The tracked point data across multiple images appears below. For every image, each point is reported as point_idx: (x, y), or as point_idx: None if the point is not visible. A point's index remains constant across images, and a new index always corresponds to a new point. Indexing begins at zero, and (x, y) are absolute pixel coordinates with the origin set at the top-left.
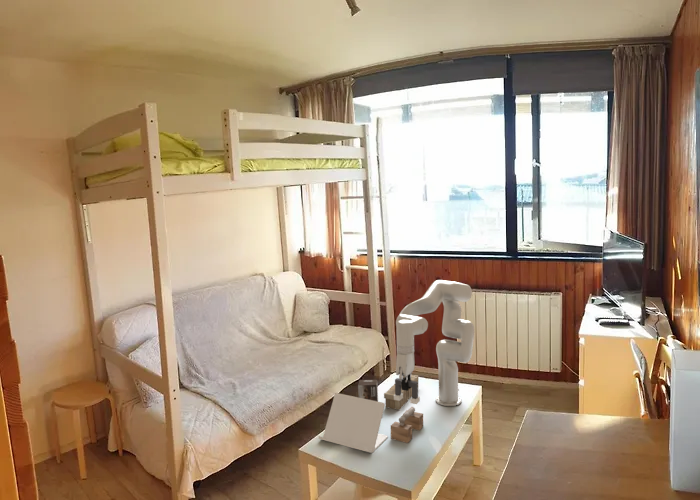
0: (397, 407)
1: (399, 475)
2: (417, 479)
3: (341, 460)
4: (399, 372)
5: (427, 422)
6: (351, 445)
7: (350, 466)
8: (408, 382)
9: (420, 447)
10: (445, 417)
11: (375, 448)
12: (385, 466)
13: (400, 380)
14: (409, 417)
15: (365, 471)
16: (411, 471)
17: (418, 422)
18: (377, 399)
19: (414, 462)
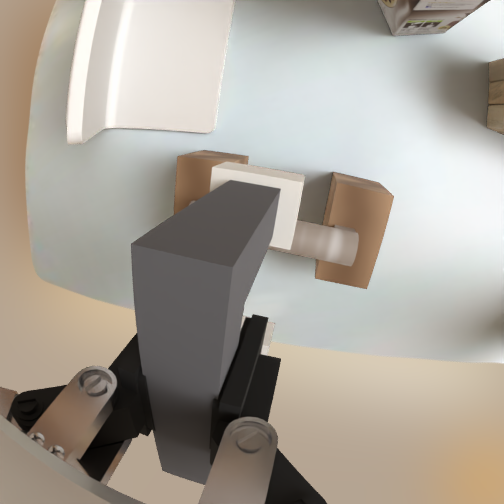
0: (492, 118)
1: (51, 245)
2: (61, 287)
3: (47, 71)
4: (5, 457)
5: (396, 270)
6: (72, 61)
7: (34, 110)
8: (150, 428)
9: None
10: (440, 324)
11: (112, 127)
12: (60, 198)
13: (145, 349)
14: (328, 220)
15: (31, 158)
16: (74, 269)
17: (316, 262)
18: (424, 4)
19: (106, 270)
